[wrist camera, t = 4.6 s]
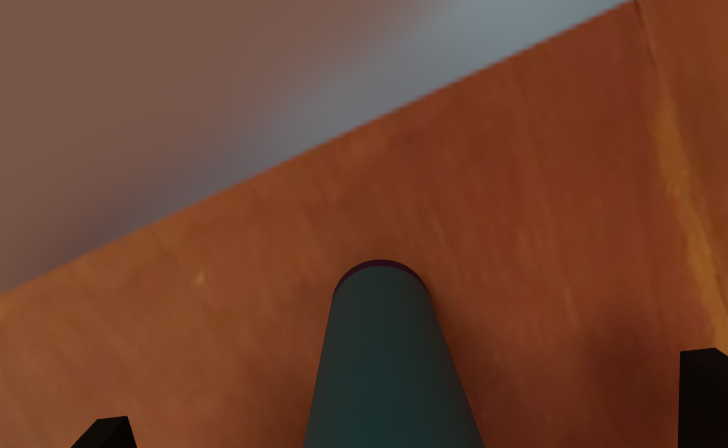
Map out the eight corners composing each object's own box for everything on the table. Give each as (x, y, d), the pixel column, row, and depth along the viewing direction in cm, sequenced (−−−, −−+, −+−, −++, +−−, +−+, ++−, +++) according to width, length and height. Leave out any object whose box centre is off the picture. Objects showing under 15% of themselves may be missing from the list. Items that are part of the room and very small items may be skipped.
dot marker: (339, 355, 18) (299, 701, 7) (324, 266, 17) (251, 506, 6) (433, 343, 18) (538, 678, 7) (423, 253, 17) (524, 476, 6)
